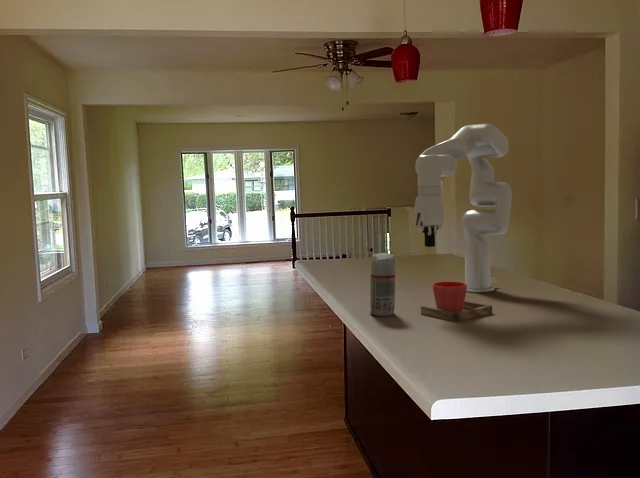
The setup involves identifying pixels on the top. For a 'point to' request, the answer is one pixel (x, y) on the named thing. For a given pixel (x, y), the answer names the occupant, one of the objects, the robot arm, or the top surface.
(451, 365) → the top surface
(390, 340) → the top surface
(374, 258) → the spray can
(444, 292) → the flower pot
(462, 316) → the wooden bars
